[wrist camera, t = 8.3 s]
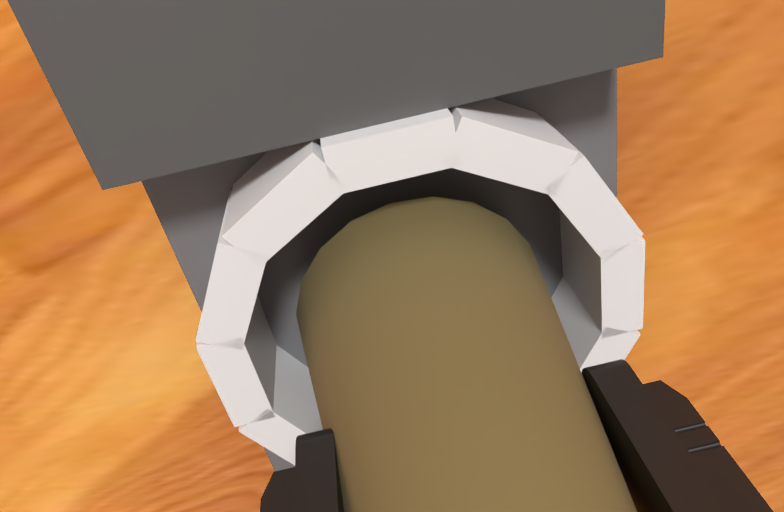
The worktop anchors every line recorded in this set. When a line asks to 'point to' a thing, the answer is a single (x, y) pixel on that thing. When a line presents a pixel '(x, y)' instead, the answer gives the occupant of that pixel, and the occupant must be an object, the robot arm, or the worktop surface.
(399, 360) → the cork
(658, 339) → the worktop surface
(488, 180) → the camera body
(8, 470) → the worktop surface
